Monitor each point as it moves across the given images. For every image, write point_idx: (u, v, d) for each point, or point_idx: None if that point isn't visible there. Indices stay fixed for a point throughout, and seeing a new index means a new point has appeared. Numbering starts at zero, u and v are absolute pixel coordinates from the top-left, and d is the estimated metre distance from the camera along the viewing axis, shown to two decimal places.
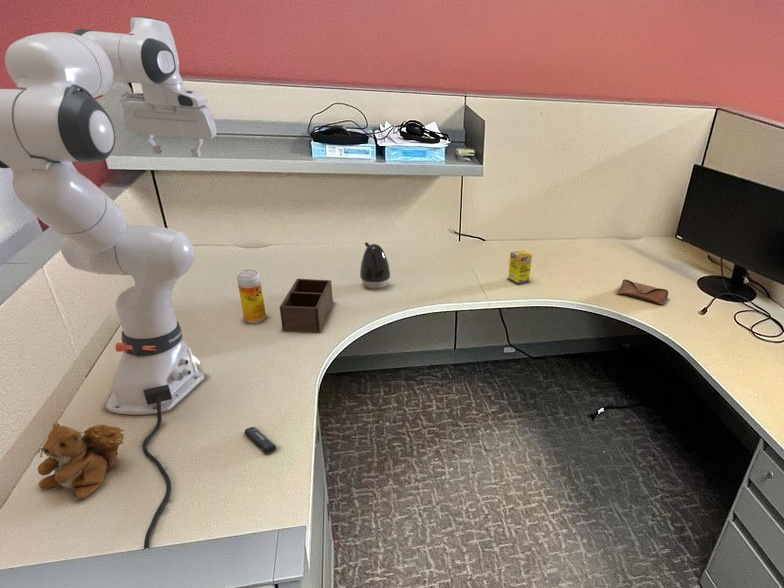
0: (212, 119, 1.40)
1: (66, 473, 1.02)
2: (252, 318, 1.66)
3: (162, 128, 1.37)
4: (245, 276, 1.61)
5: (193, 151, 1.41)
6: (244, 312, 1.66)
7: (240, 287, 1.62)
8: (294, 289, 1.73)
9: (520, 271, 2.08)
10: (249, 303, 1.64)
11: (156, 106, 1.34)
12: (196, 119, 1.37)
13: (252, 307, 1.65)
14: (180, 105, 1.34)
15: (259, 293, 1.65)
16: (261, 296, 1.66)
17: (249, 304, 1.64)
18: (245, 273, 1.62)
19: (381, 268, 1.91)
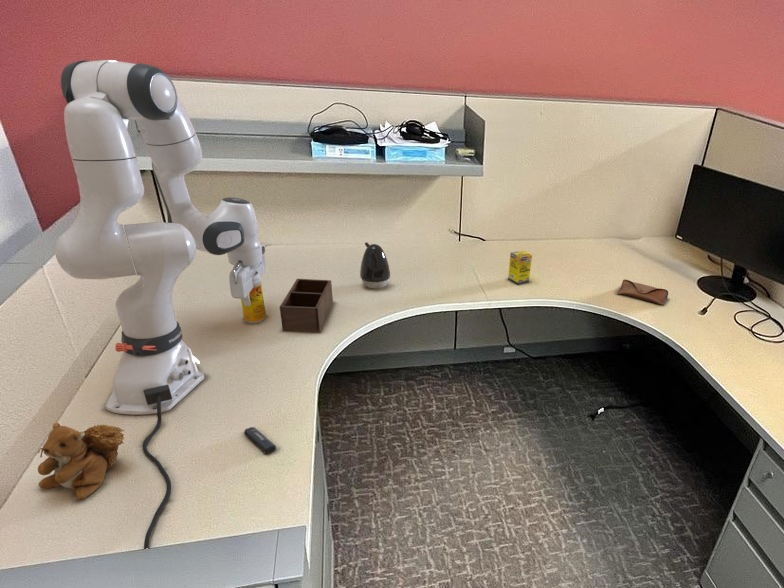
0: None
1: (66, 473, 1.02)
2: (252, 318, 1.66)
3: None
4: None
5: None
6: (244, 312, 1.66)
7: None
8: (294, 289, 1.73)
9: (520, 271, 2.08)
10: None
11: (255, 264, 1.60)
12: None
13: (253, 307, 1.65)
14: (262, 254, 1.65)
15: (260, 294, 1.65)
16: (261, 296, 1.66)
17: None
18: None
19: (381, 268, 1.91)
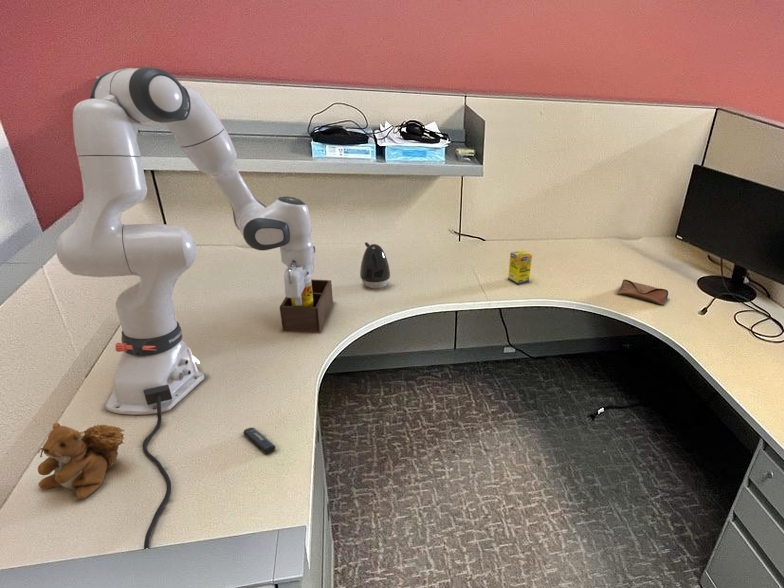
0: None
1: (66, 473, 1.02)
2: None
3: None
4: None
5: None
6: None
7: None
8: None
9: (520, 271, 2.08)
10: None
11: None
12: None
13: None
14: None
15: (310, 293, 1.65)
16: (311, 296, 1.66)
17: None
18: None
19: (381, 268, 1.91)
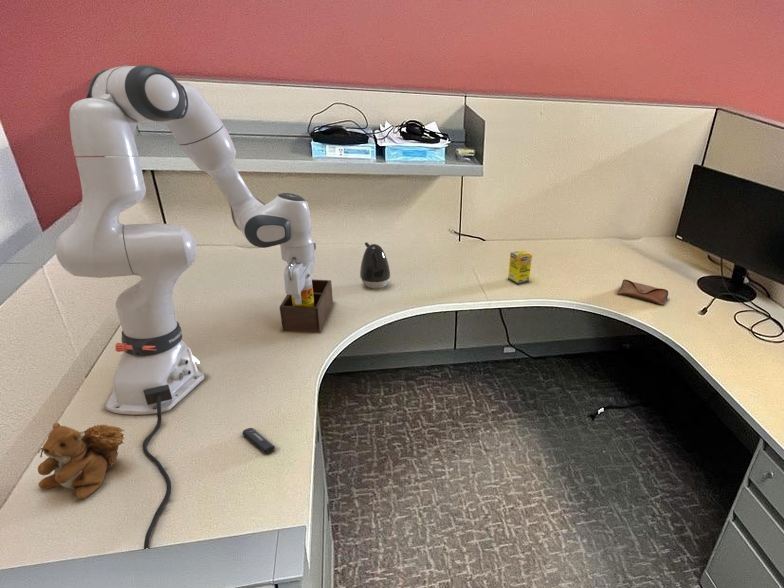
0: None
1: (66, 473, 1.02)
2: None
3: None
4: None
5: None
6: None
7: None
8: None
9: (520, 271, 2.08)
10: (301, 305, 1.64)
11: None
12: None
13: None
14: (314, 251, 1.64)
15: (311, 296, 1.65)
16: (312, 298, 1.66)
17: (301, 306, 1.64)
18: None
19: (381, 268, 1.91)
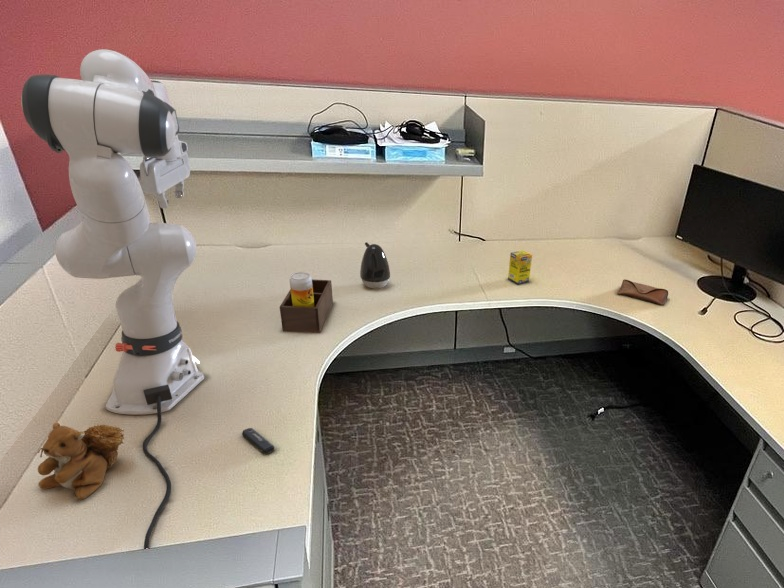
0: None
1: (66, 473, 1.02)
2: None
3: (172, 179, 1.47)
4: (298, 279, 1.61)
5: (182, 193, 1.55)
6: None
7: (293, 290, 1.62)
8: None
9: (520, 271, 2.08)
10: (301, 305, 1.64)
11: (173, 159, 1.45)
12: (182, 161, 1.53)
13: None
14: (183, 152, 1.49)
15: (311, 296, 1.65)
16: (312, 298, 1.66)
17: (301, 306, 1.64)
18: (297, 276, 1.62)
19: (381, 268, 1.91)
